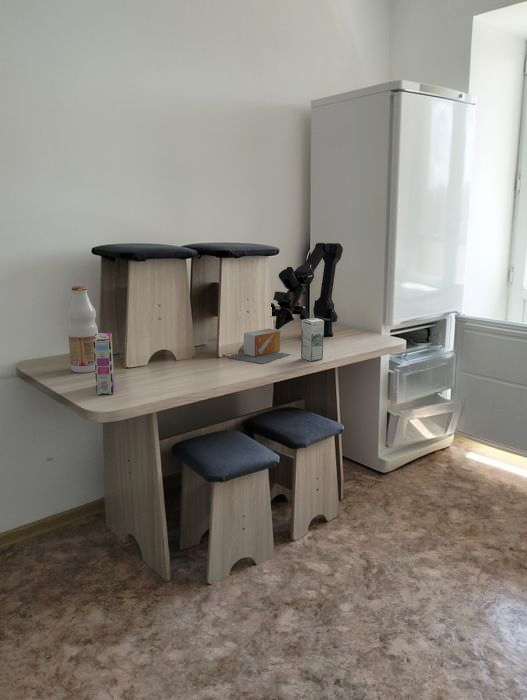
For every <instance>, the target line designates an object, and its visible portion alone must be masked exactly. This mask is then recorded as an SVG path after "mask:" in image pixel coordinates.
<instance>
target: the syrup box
mask: <svg viewBox="0 0 527 700" xmlns="http://www.w3.org/2000/svg"><path fill="white" fill-rule="evenodd" d="M300 337H301V338H300V341H301V342H300V343H301V347H300V348H301V349H300V359H302V358H303V359H302V360H305V359H306V360H305V361H308V360H309V361H308V362H314V360H315V361H320V359H321V360H324V337H325V336H324V321H323V320H321V319H318V318H314V317H312V318H308V319H303V320H301V336H300Z"/></svg>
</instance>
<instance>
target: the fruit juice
mask: <svg viewBox="0 0 527 700" xmlns="http://www.w3.org/2000/svg"><path fill="white" fill-rule="evenodd" d="M88 291H89V288H88V286H87V285H75V286H72V287H71V292H72V298H71V300H70V301H71V302H70V305H69V307H68V309H67V312H66V316H67V321H68V323H69V324H68V328H67V334H68V345H69V356H70V359H69V360H70V368H71V371H72V372H74V373H79V374H81V373H82V374H85V373H92V372H95V357H94V341H93V340H94V337H95V334H96V333H99V331H98V329H99V328H98V325H97V323H96V318H97V311H96V309H95V307H94V305H93V304H92V302H91V299H90V297H89V295H88Z"/></svg>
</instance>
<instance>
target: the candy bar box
mask: <svg viewBox="0 0 527 700" xmlns="http://www.w3.org/2000/svg"><path fill="white" fill-rule="evenodd" d="M112 336H113V335H112V332H98V333H96V334H95V337H94V340H93V341H94V357H95V371H94V372H95V386H96V387H95V388H96V396H107V395H108V396H111V395H114V390H115V389H114V388H115V371H114V354H113V340H112V339H113V337H112Z"/></svg>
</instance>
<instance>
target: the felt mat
mask: <svg viewBox="0 0 527 700" xmlns="http://www.w3.org/2000/svg"><path fill="white" fill-rule="evenodd" d="M234 355H235V356H233V355H230V356H231V357H230V356H227V359H232V360H237V361H242V362H243V361H244V362H249V363H255V364H260V365H265V364H268V363H272V362H273V360H274V361H277V360H279V358H280V359H282V357H283V358H285V357H284V356H286V357H288V356H287V355H289V356H291V353H286V352H281V351H280V352H275V353H270V354H265V355H260V356H255V357H254V356H250V355H247V354H244V351H243V352H240V353H238V355H236V354H234ZM276 359H277V360H276Z"/></svg>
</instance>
